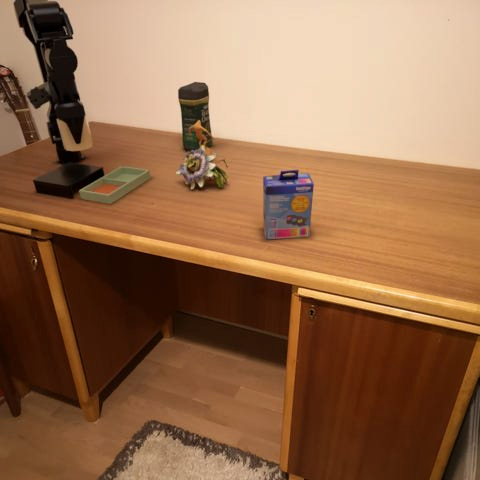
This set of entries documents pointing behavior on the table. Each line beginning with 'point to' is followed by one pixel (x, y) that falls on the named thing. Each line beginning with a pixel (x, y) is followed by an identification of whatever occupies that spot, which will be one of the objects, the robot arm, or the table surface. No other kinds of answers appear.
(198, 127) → the figurine
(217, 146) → the table surface
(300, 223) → the ink cartridge box
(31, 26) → the robot arm
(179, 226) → the table surface
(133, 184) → the tray
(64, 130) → the cup
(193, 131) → the coffee jar
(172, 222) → the table surface
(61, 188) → the flat black slab base
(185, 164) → the passion flower
